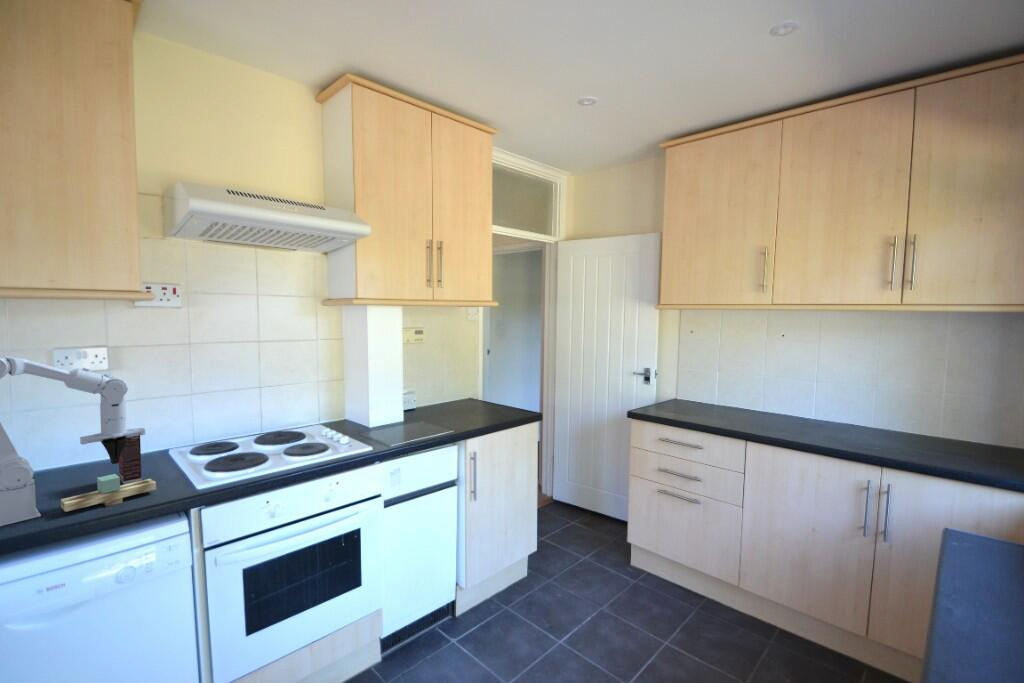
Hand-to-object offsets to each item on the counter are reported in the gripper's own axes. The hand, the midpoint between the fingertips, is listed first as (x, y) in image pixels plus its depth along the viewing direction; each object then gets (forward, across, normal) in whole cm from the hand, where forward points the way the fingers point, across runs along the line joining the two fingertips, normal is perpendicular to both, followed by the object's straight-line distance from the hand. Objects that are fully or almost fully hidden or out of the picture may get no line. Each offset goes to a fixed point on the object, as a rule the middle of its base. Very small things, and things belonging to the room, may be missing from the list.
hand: (114, 463), depth 137 cm
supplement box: (+10, +6, +13) cm, 17 cm away
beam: (+10, -2, -5) cm, 11 cm away
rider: (+7, -3, -5) cm, 9 cm away
